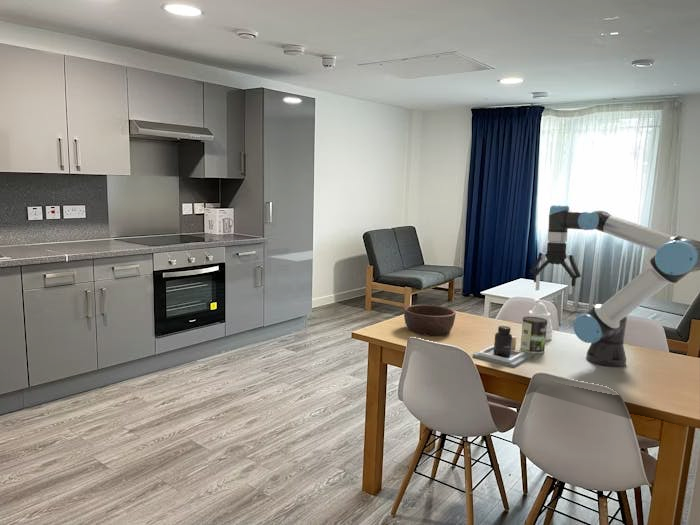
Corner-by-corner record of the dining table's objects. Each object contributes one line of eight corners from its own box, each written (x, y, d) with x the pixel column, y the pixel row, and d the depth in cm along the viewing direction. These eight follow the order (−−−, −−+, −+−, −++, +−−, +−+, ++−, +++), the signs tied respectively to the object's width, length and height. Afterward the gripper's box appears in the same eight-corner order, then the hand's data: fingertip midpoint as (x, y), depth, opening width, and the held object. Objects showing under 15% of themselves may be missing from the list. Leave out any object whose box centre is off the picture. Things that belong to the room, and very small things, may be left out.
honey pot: (525, 338, 252) (529, 301, 249) (522, 331, 264) (525, 296, 262) (554, 341, 250) (557, 303, 247) (548, 334, 262) (552, 298, 260)
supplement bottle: (506, 358, 216) (509, 330, 214) (490, 355, 220) (493, 327, 218) (512, 355, 221) (515, 327, 219) (497, 351, 225) (499, 324, 224)
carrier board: (533, 356, 224) (534, 340, 223) (514, 367, 209) (515, 350, 208) (493, 347, 236) (494, 331, 235) (472, 356, 220) (473, 340, 219)
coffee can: (547, 350, 235) (550, 319, 233) (540, 355, 226) (543, 323, 225) (524, 345, 241) (527, 315, 239) (516, 350, 233) (519, 318, 231)
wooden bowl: (392, 328, 260) (393, 308, 259) (425, 321, 277) (426, 302, 275) (432, 340, 242) (433, 319, 240) (464, 332, 259) (466, 312, 257)
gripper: (590, 243, 219) (586, 294, 221) (529, 239, 233) (526, 287, 236) (586, 244, 213) (582, 296, 215) (524, 240, 227) (521, 289, 230)
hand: (553, 292), depth 225 cm, fingers open, 13 cm apart
